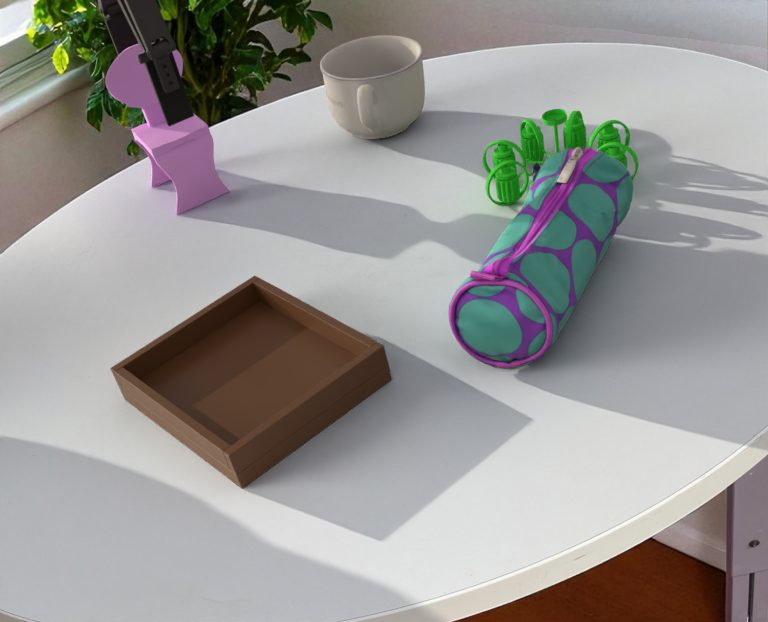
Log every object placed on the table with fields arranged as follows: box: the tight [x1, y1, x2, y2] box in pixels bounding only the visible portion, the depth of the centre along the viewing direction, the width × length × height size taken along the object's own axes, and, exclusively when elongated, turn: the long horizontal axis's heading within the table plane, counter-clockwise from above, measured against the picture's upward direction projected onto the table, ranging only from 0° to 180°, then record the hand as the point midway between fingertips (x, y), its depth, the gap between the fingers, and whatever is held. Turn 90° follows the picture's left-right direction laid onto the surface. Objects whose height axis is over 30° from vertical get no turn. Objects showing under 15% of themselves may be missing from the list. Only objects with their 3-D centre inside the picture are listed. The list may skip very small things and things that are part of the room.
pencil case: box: [448, 147, 634, 370], centre depth 86 cm, size 21×9×10 cm, turn 154°
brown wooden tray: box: [110, 275, 393, 490], centre depth 88 cm, size 18×16×4 cm
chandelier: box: [482, 108, 640, 207], centre depth 100 cm, size 15×15×7 cm
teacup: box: [319, 34, 426, 140], centre depth 113 cm, size 14×11×8 cm
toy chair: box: [105, 42, 230, 216], centre depth 110 cm, size 8×9×15 cm
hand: (159, 98), depth 108 cm, fingers open, 13 cm apart
